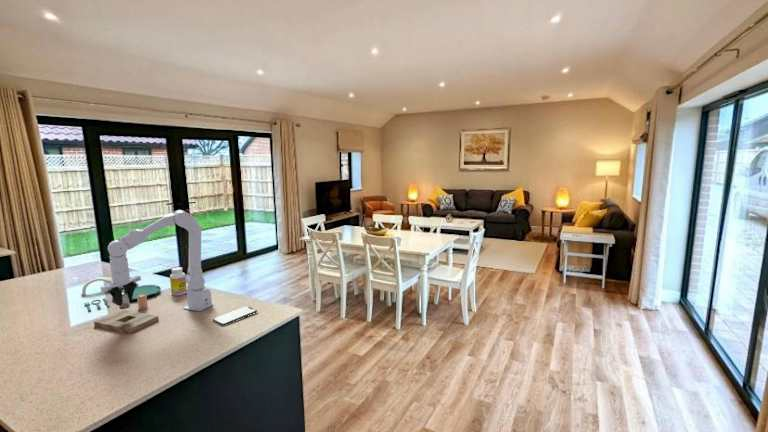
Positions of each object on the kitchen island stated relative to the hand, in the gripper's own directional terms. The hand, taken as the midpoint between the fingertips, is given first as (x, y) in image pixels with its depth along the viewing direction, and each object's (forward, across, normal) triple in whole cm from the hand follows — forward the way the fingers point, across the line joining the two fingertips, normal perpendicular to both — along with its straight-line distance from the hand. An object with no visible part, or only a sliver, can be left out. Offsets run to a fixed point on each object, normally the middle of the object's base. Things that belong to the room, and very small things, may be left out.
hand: (124, 303), depth 146 cm
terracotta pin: (+9, -13, -8) cm, 18 cm away
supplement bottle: (+9, -32, -8) cm, 34 cm away
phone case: (+10, -19, +38) cm, 43 cm away
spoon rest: (+9, -26, -48) cm, 55 cm away
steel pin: (+2, 0, 0) cm, 2 cm away
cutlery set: (+10, -19, -28) cm, 35 cm away
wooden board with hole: (+9, 0, 0) cm, 9 cm away
